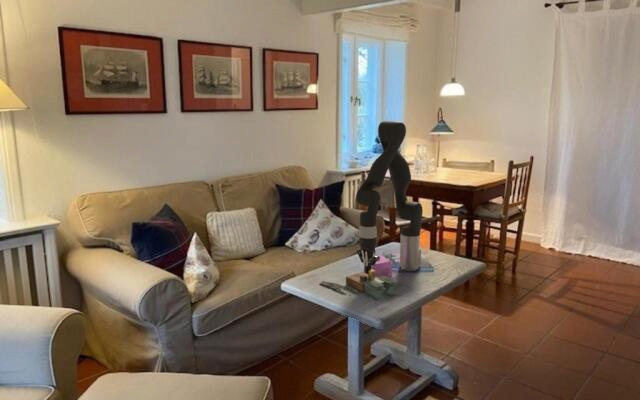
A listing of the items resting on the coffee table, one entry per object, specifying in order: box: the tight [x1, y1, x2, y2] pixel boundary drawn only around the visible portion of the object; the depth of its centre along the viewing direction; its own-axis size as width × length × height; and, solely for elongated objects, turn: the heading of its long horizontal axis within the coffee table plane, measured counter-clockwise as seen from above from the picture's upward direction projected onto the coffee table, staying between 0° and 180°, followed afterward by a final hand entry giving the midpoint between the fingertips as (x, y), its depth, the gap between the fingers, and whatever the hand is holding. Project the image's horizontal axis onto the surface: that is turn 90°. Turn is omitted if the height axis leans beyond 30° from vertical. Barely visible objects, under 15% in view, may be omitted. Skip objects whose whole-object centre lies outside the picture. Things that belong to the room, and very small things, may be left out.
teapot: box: [363, 254, 393, 279], centre depth 227 cm, size 18×10×10 cm, turn 24°
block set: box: [345, 271, 398, 302], centre depth 213 cm, size 11×21×6 cm, turn 34°
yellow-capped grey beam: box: [368, 269, 385, 286], centre depth 209 cm, size 2×8×5 cm, turn 34°
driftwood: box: [319, 280, 360, 297], centre depth 216 cm, size 21×7×2 cm, turn 40°
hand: (367, 273), depth 214 cm, fingers closed
